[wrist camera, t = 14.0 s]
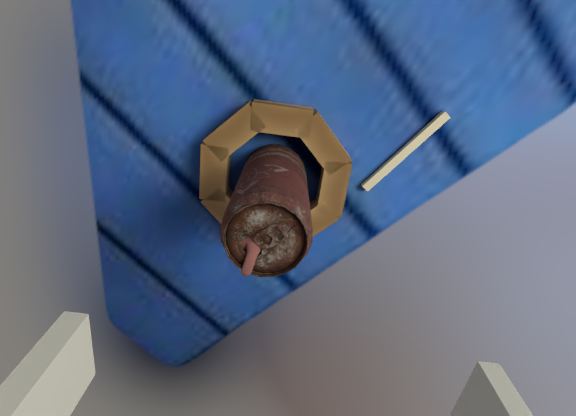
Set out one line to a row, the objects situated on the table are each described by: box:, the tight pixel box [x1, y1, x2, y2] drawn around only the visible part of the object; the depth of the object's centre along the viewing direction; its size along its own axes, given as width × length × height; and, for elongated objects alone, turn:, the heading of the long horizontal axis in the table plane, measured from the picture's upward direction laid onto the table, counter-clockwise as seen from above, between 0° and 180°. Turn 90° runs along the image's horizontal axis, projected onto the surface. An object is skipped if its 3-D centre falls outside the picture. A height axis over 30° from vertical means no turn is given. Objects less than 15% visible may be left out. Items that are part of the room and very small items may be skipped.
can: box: [220, 145, 313, 277], centre depth 29 cm, size 6×6×14 cm
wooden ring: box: [199, 99, 352, 237], centre depth 34 cm, size 14×14×2 cm
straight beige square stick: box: [361, 111, 450, 191], centre depth 34 cm, size 10×1×1 cm, turn 137°
